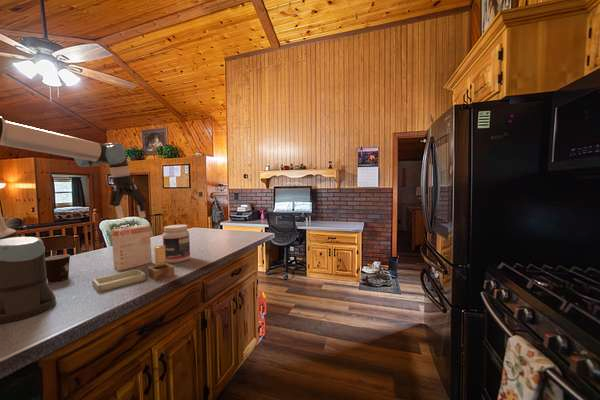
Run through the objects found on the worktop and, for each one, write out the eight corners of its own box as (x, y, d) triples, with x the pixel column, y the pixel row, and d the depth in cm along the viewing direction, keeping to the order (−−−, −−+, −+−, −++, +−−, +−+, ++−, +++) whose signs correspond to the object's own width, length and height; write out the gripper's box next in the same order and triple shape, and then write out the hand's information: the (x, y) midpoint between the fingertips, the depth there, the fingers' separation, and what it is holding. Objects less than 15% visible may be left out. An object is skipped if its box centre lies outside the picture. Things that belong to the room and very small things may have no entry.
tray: (98, 292, 94) (98, 285, 94) (92, 285, 101) (92, 279, 101) (146, 279, 106) (145, 273, 106) (137, 274, 114) (137, 268, 113)
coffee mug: (54, 284, 103) (52, 260, 103) (38, 283, 105) (36, 259, 105) (83, 274, 115) (82, 253, 114) (69, 273, 117) (67, 252, 116)
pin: (158, 278, 108) (156, 248, 107) (154, 276, 111) (153, 246, 110) (167, 275, 111) (166, 246, 110) (164, 273, 114) (162, 245, 113)
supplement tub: (158, 262, 131) (156, 227, 130) (178, 255, 143) (176, 223, 142) (176, 264, 126) (174, 228, 125) (195, 257, 138) (194, 224, 137)
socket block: (154, 280, 105) (154, 271, 105) (148, 276, 110) (147, 267, 110) (174, 275, 111) (174, 266, 111) (167, 271, 116) (166, 262, 116)
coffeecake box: (146, 260, 135) (144, 224, 134) (152, 262, 131) (150, 225, 130) (113, 268, 123) (110, 229, 122) (118, 271, 119) (116, 230, 118)
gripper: (148, 173, 121) (158, 215, 126) (108, 176, 127) (119, 216, 132) (135, 175, 114) (146, 219, 119) (93, 178, 120) (105, 220, 125)
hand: (131, 218), depth 125 cm, fingers open, 13 cm apart
